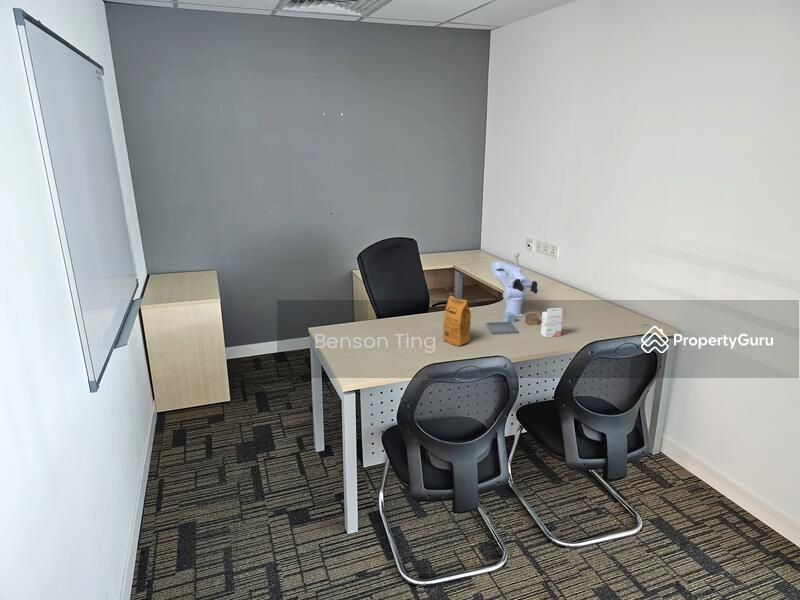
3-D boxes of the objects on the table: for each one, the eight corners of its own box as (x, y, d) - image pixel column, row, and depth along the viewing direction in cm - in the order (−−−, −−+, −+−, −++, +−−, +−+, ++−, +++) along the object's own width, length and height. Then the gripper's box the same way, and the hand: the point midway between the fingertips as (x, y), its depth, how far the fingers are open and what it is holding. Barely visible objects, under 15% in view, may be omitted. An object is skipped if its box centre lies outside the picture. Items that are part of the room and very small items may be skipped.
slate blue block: (502, 320, 278) (503, 312, 277) (509, 319, 280) (510, 311, 279) (507, 323, 274) (508, 315, 273) (514, 322, 276) (515, 314, 275)
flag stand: (527, 305, 303) (530, 254, 294) (504, 305, 303) (507, 254, 294) (522, 298, 315) (526, 249, 306) (500, 298, 315) (503, 249, 306)
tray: (485, 325, 272) (485, 322, 271) (510, 324, 273) (510, 321, 272) (491, 334, 259) (492, 331, 259) (517, 333, 261) (517, 330, 260)
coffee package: (454, 335, 258) (455, 292, 252) (472, 342, 249) (474, 298, 242) (439, 340, 252) (440, 296, 246) (457, 348, 243) (459, 302, 236)
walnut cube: (525, 322, 277) (525, 313, 275) (534, 321, 277) (535, 312, 275) (528, 325, 272) (528, 316, 270) (537, 325, 272) (538, 316, 271)
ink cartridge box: (556, 332, 262) (558, 304, 257) (561, 336, 257) (563, 307, 253) (540, 333, 260) (542, 305, 256) (544, 337, 255) (547, 308, 251)
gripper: (509, 270, 272) (518, 281, 260) (535, 274, 275) (545, 285, 263) (505, 283, 275) (514, 294, 263) (531, 286, 278) (540, 298, 266)
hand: (529, 290), depth 263 cm, fingers open, 7 cm apart
